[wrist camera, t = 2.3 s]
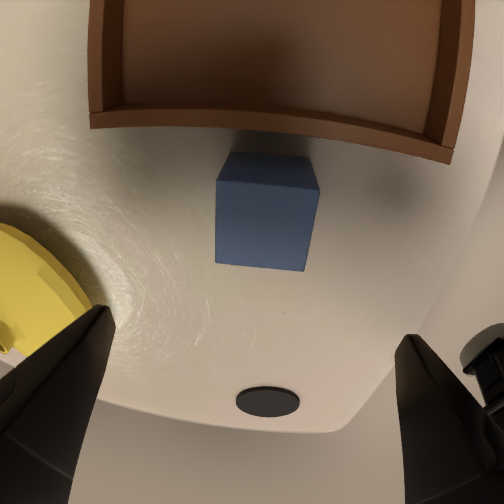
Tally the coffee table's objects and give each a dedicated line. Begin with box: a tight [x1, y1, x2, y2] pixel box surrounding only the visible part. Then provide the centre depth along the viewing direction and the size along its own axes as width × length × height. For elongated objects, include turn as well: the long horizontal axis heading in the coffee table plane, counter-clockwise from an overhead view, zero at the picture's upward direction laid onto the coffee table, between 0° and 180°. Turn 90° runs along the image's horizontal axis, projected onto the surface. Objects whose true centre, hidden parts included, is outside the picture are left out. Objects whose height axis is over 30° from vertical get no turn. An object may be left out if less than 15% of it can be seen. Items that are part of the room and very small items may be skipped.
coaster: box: [236, 387, 299, 417], centre depth 28 cm, size 6×6×1 cm
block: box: [215, 151, 320, 272], centre depth 14 cm, size 4×4×4 cm
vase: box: [0, 223, 92, 357], centre depth 19 cm, size 16×16×7 cm
